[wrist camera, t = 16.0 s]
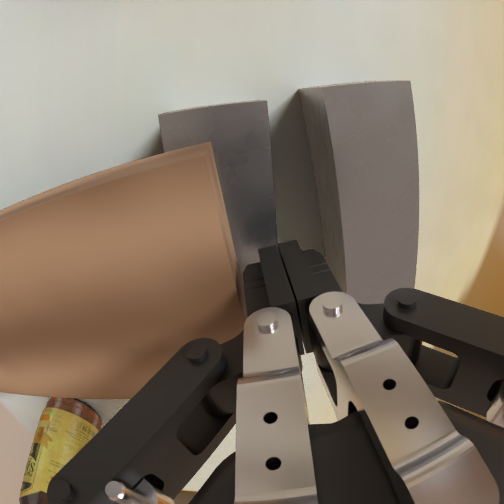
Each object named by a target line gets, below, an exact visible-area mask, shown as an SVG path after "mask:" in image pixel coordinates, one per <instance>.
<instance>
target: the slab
mask: <svg viewBox="0 0 504 504" xmlns="http://www.w3.org/2000/svg"><path fill="white" fill-rule="evenodd" d="M247 318H248V317H247V309H246V300H245V292H244V287H243V282H242V278H241V274H240V270H239V265H238V261H237V257H236V252H235V248H234V244H233V239H232V235H231V231H230V226H229V222H228V218H227V213H226V209H225V204H224V200H223V196H222V191H221V187H220V182H219V178H218V173H217V169H216V164H215V160H214V155H213V150H212V146H211V142H207V143H203V144H198V145H194V146H190V147H185V148H181V149H177V150H173V151H169V152H166V153H162V154H158V155H154V156H150V157H147V158H143V159H140V160H136V161H133V162H130V163H126V164H123V165H120V166H116V167H113V168H110V169H107V170H104V171H101V172H98V173H95V174H92V175H89V176H86V177H83V178H80V179H77V180H74V181H72V182H69V183H66V184H63V185H61V186H58V187H56V188H53V189H50V190H48V191H45V192H43V193H40V194H38V195H35V196H33V197H30V198H28V199H26V200H23V201H21V202H19V203H16V204H14V205H12V206H10V207H7V208H5V209H3V210H1V211H0V392H4V393H12V394H21V395H31V396H43V397H57V398H79V399H132V398H133V397H134V396H135V395H136V393H137V392H138V391H139V390H140V389H141V388H142V387H143V386H144V385H145V384H146V383H147V382H148V381H149V380H150V379H151V378H152V377H153V376H154V375H155V374H156V373H157V372H158V371H159V370H160V369H161V368H162V367H163V366H164V365H165V364H166V363H167V362H168V361H169V360H170V359H171V358H172V357H173V356H174V355H175V353H176V352H177V351H178V350H179V349H180V348H181V347H182V346H184V345H185V344H186V343H188V342H190V341H192V340H195V339H198V338H210V339H214V340H216V341H217V342H218V343H219V344H222V343H225V342H227V341H229V340H231V339H233V338H235V337H236V336H237V335H239V334H240V333H241V332H242V331H243V330H244V323H245V321H246V319H247Z"/></svg>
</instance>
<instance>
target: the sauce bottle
mask: <svg viewBox="0 0 504 504" xmlns="http://www.w3.org/2000/svg"><path fill="white" fill-rule="evenodd" d="M100 427H101V419H100V417H99V415H98V414H97V413H96V412H95V411H94V410H93V409H92V408H91V407H89V406H87V405H86V404H84V403H82V402H80V401H78V400H75V399H72V398H57V397H52V398H50V400H49V401H48V402H47V406H46V408H45V409H44V410H43V412H42V415H41V418H40V421H39V424H38V428H37V431H36V434H35V437H34V441H33V444H32V447H31V451H30V455H29V458H28V462H27V465H26V470H25V474H24V479H23V483H22V488H21V493H20V498H19V501H20V504H49V503H48V499H47V488H48V484H49V482H50V480H51V479H52V478H53V477H54V475H55V474H56V473H58V472H59V471H60V470H61V469H62V468H63V467H64V466H65V465H66V464H67V463H68V462H69V461H70V460H71V459H72V458H73V457H74V456H75V455H76V454H77V453H78V452H79V451H80V450H81V449H82V448H83V447H84V446H85V445H86V444H87V443H88V442H89V441H90V440H91V439H92V438H93V437H94V436H95V435H96V434H97V433H98V432H99V431H100Z"/></svg>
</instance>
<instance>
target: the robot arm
mask: <svg viewBox="0 0 504 504" xmlns="http://www.w3.org/2000/svg"><path fill="white" fill-rule="evenodd" d="M278 251H279V252H278ZM258 253H259V258H260V262H257V263H253V264H249V265H247V266H246V268H245V270H244V272H243V273H242V275H243V283H244V292H245V300H246V309H247V317H248V318H247V319H246V321H245V323H244V330H243V331H242V332H241V333H240V334H239V335H237V336H236V337H235V338H233V339H231V340H229V341H227V342H225V343H222V344H219V343H218V342H217V341H216V340H214V339H210V338H198V339H195V340H192V341H190V342H188V343H186V344H185V345H184V346H182V347H181V348H180V349H179V350H178V351H177V352H176V353H175V355H174V356H173V357H172V358H171V359H170V360H169V361H168V362H167V363H166V364H165V365H164V366H163V367H162V368H161V369H160V370H159V371H158V372H157V373H156V374H155V375H154V376H153V377H152V378H151V379H150V380H149V381H148V382H147V383H146V384H145V385H144V386H143V387H142V388H141V389H140V390H139V391H138V392H137V393H136V395H135V396H134V397H133V398H132V399H131V400H130V401H129V402H128V403H127V404H126V405H125V406H124V407H123V408H122V409H121V410H120V411H119V412H118V413H117V414H116V415H115V416H114V417H113V418H112V419H111V420H110V421H109V422H108V423H107V424H106V425H105V426H104V427H103V428H102V429H101V430H100V431H99V432H98V433H97V434H96V435H95V436H94V437H93V438H92V439H91V440H90V441H89V442H88V443H87V444H86V445H85V446H84V447H83V448H82V449H81V450H80V451H79V452H78V453H77V454H76V455H75V456H74V457H73V458H72V459H71V460H70V461H69V462H68V463H67V464H66V465H65V466H64V467H63V468H62V469H61V470H60V471H59V472H58V473H56V474H55V475H54V477H53V478H52V479H51V480H50V482H49V484H48V488H47V499H48V503H49V504H174V502H173V499H174V498H175V497H176V496H177V495H178V494H179V492H180V491H181V490H182V489H183V488H184V487H185V485H186V484H187V483H188V482H189V481H190V480H191V478H192V477H193V476H194V475H195V474H196V473H197V471H198V470H199V469H200V468H201V467H202V465H203V464H204V463H205V462H206V461H207V459H208V458H209V457H210V456H211V454H212V453H213V452H214V451H215V449H216V448H217V447H218V446H219V444H220V443H221V442H222V441H223V439H224V438H225V437H226V435H227V434H228V433H229V432H230V430H231V429H232V428H233V426H234V425H235V424H236V451H235V452H234V453H232V454H231V455H229V456H228V457H227V458H226V459H225V460H223V461H222V462H221V463H220V464H219V466H218V467H217V468H216V469H215V470H214V471H213V473H212V474H211V475H210V477H209V478H208V479H207V481H206V482H205V483H204V485H203V486H202V487H201V489H200V490H199V491H198V492H197V494H196V495H195V496H194V498H193V499H192V500H191V501H190V503H189V504H504V317H501V316H498V315H494V314H492V313H488V312H485V311H482V310H479V309H476V308H473V307H470V306H467V305H464V304H461V303H458V302H455V301H451V300H448V299H445V298H442V297H439V296H436V295H433V294H429V293H426V292H423V291H420V290H417V289H413V288H399V289H396V290H393V291H391V292H390V293H389V294H388V295H387V296H386V297H385V300H384V303H382V304H361V303H357V302H356V301H355V300H354V298H353V297H352V296H350V295H348V294H346V293H343V291H342V289H341V288H340V286H339V284H338V282H337V280H336V279H335V277H334V275H333V273H332V272H331V270H330V268H329V266H328V264H326V261H325V259H324V257H323V256H322V254H320V253H319V252H317V251H315V250H313V249H310V250H306V251H301V249H300V247H299V245H298V242H297V240H293V241H289V242H285V243H281V244H278V249H277V246H276V245H273V246H269V247H264V248H260V249H258ZM302 341H303V342H302ZM422 341H423V342H426V343H429V344H431V345H434V346H437V347H439V348H442V349H445V350H447V351H450V352H453V353H455V354H456V355H457V356H458V357H459V358H455V357H452V356H450V355H447V354H444V353H442V352H439V351H436V350H434V349H431V348H429V347H426V346H423V345H422ZM303 344H304V347H305V351H306V353H310V352H314V355H315V358H316V364H317V370H318V373H319V375H320V378H321V380H322V383H323V385H324V387H325V390H326V392H327V394H328V397H329V399H330V401H331V404H332V406H333V409H334V411H335V414H336V417H337V422H335V423H331V424H311V425H310V423H309V416H308V410H307V403H306V397H305V391H304V384H303V378H302V373H301V372H302V361H301V356H300V355H303V354H304V348H303ZM435 397H437V398H439V399H441V400H444V401H446V402H449V403H451V404H454V405H456V406H459V407H461V408H464V409H466V410H469V411H471V412H474V413H477V414H479V415H482V416H484V417H487V420H484V419H482V418H479V417H477V416H475V415H472V414H470V413H468V412H465V411H463V410H461V409H459V408H457V407H454V406H452V405H450V404H447V403H445V402H441V401H438V400H436V398H435Z"/></svg>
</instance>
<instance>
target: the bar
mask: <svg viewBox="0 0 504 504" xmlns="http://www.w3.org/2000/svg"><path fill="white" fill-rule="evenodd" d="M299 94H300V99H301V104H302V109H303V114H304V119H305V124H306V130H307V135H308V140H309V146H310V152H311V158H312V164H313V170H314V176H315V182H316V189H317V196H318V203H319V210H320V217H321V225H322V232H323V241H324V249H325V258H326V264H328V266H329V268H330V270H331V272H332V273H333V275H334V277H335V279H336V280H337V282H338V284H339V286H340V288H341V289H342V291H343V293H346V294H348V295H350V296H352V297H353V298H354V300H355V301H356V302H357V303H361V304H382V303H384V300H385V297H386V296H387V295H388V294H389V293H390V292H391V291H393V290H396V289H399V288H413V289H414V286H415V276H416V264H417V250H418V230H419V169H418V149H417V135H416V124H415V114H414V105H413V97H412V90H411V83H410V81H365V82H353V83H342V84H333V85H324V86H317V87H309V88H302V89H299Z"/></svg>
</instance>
